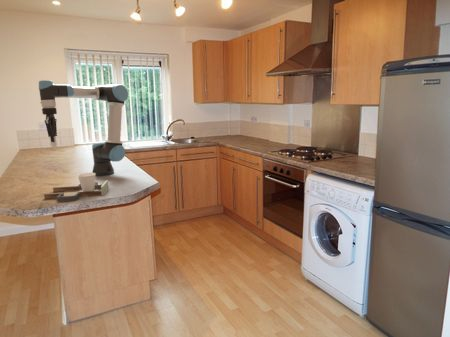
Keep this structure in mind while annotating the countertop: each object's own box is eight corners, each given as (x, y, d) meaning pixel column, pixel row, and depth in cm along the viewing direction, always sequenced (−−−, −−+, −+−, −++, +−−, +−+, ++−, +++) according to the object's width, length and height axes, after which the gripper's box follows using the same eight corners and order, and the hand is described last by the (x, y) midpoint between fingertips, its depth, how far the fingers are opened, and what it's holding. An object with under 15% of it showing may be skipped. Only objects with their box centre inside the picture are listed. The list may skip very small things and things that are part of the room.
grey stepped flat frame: (54, 191, 200) (53, 187, 200) (106, 188, 205) (106, 184, 204) (44, 198, 185) (43, 194, 185) (101, 195, 190) (101, 191, 189)
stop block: (106, 188, 205) (106, 180, 203) (108, 188, 205) (108, 180, 204) (101, 195, 190) (100, 186, 189) (103, 195, 190) (102, 186, 189)
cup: (76, 193, 194) (73, 175, 192) (90, 189, 203) (88, 172, 200) (86, 195, 189) (84, 177, 187) (101, 191, 198) (99, 173, 195)
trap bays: (72, 187, 208) (72, 183, 208) (98, 185, 211) (97, 182, 210) (56, 201, 180) (56, 197, 179) (86, 199, 182) (85, 195, 181)
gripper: (46, 107, 200) (51, 146, 205) (37, 108, 187) (43, 149, 192) (59, 107, 201) (64, 145, 206) (51, 107, 188) (57, 148, 193)
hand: (54, 147), depth 199 cm, fingers closed
